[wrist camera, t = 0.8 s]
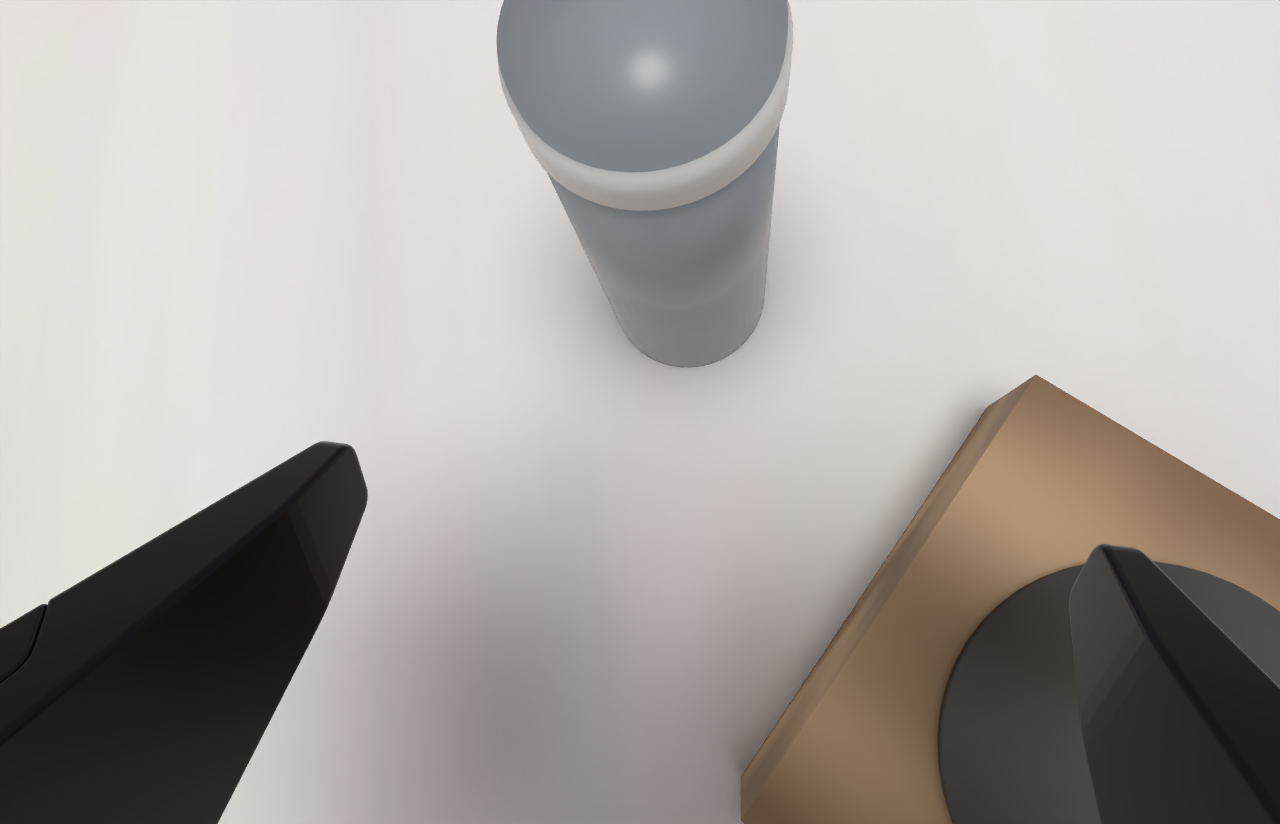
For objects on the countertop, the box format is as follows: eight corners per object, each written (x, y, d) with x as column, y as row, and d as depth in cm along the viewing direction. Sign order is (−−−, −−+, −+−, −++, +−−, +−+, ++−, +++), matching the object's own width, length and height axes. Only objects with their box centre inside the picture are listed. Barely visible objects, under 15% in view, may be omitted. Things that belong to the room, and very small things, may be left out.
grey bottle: (708, 400, 25) (676, 222, 12) (581, 316, 26) (432, 72, 13) (798, 273, 25) (856, -25, 13) (670, 195, 26) (606, -151, 14)
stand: (1175, 1116, 20) (1298, 1270, 15) (741, 777, 23) (741, 827, 18) (1429, 678, 21) (1611, 706, 17) (987, 406, 24) (1043, 369, 19)
